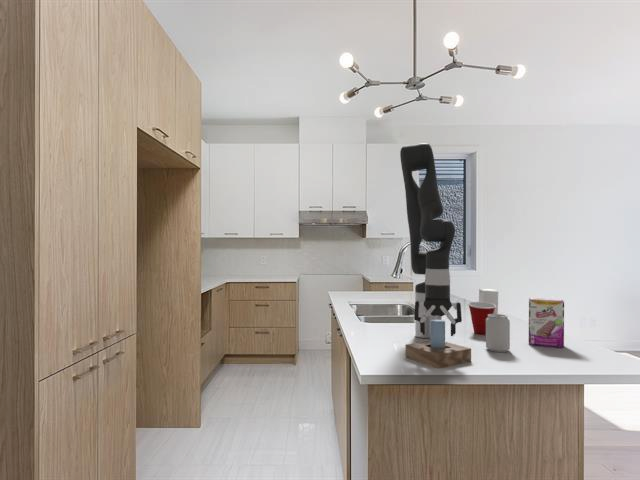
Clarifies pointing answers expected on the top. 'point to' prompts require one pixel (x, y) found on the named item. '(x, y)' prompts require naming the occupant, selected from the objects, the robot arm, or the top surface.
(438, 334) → the peg
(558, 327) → the candy bar box
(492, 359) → the top surface
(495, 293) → the skincare box
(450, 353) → the socket block
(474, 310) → the plastic cup
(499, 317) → the can
